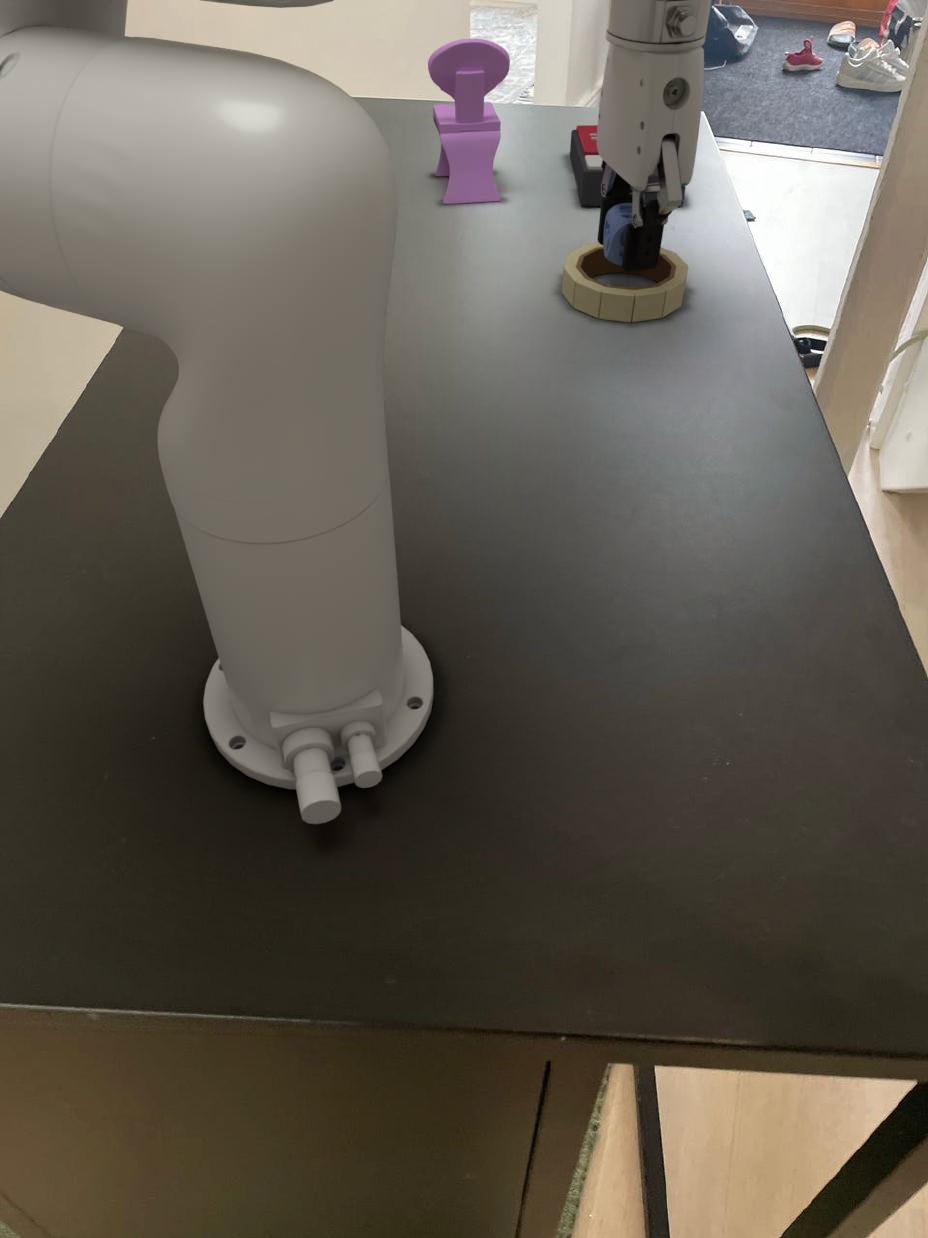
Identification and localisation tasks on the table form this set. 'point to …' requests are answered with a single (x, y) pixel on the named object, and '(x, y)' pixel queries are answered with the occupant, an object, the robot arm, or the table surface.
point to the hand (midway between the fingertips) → (626, 253)
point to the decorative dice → (616, 231)
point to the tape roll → (618, 299)
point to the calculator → (594, 167)
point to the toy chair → (468, 117)
